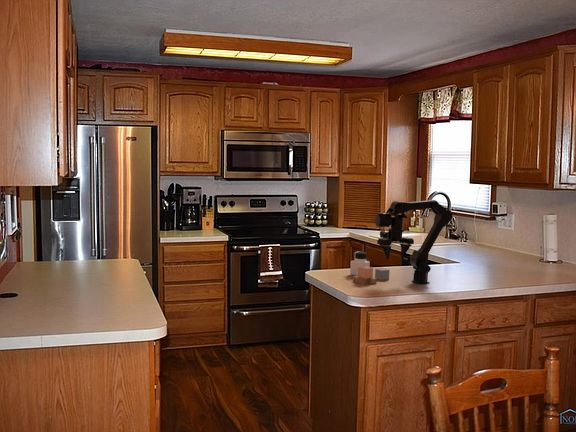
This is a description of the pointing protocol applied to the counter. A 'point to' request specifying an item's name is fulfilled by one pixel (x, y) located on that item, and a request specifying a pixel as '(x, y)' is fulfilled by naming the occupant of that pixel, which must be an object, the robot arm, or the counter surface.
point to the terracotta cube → (365, 272)
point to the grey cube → (382, 274)
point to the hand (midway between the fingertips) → (394, 258)
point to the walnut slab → (364, 280)
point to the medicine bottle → (358, 262)
